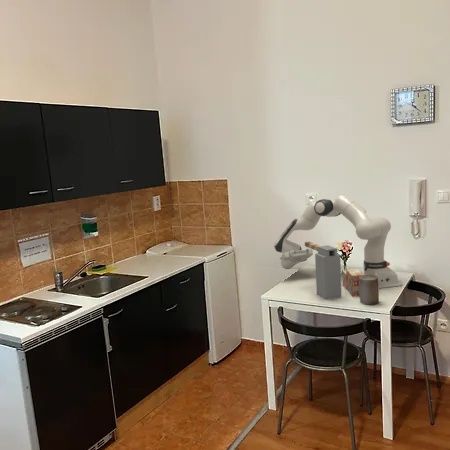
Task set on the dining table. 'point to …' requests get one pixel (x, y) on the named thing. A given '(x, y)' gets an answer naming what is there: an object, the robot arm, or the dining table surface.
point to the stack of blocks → (352, 281)
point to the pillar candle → (369, 289)
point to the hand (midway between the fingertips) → (301, 250)
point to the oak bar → (312, 245)
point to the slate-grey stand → (328, 272)
